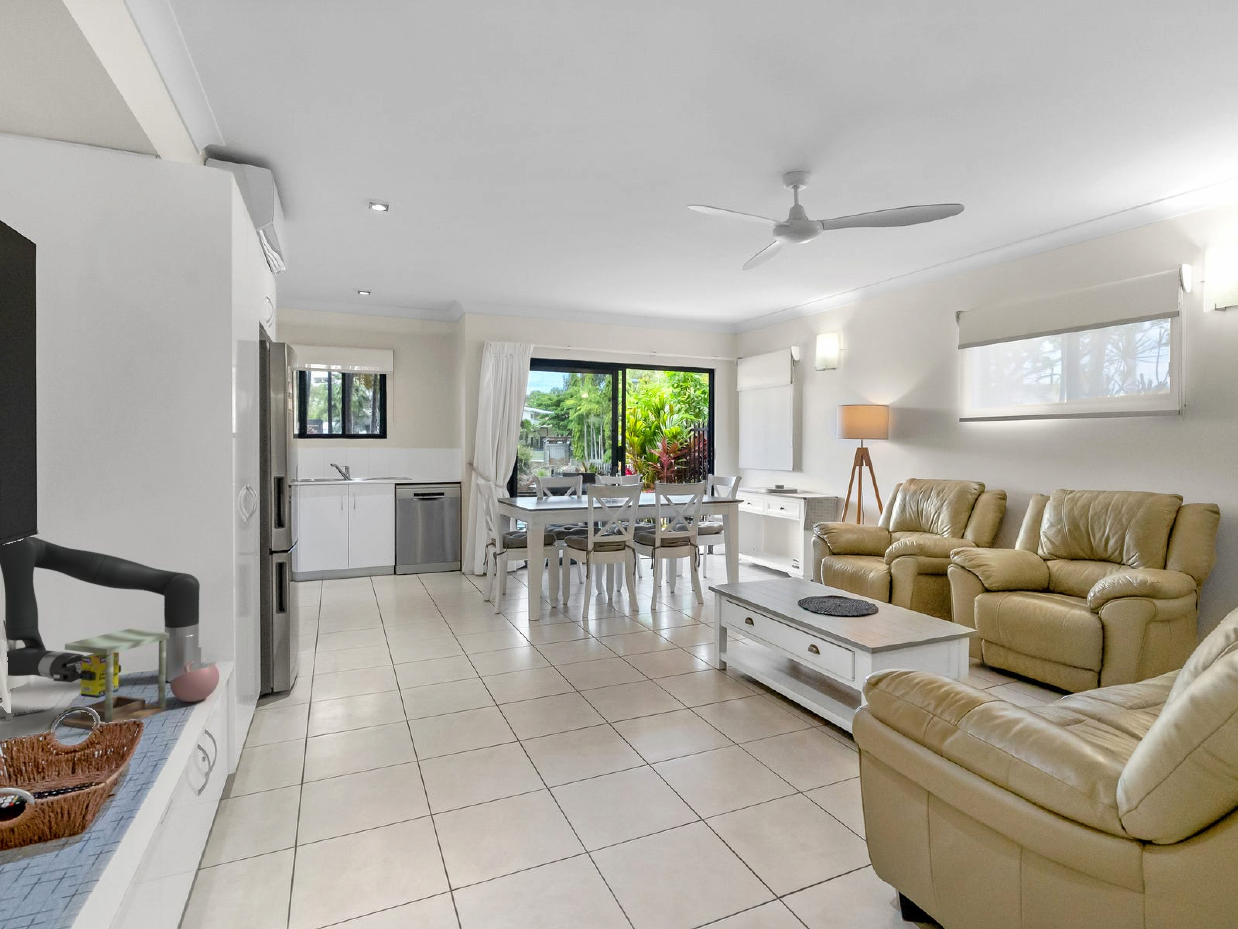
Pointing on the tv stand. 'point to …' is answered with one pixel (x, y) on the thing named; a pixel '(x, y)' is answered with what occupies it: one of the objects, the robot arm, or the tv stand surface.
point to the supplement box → (98, 675)
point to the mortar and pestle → (195, 683)
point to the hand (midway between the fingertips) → (106, 672)
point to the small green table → (119, 705)
